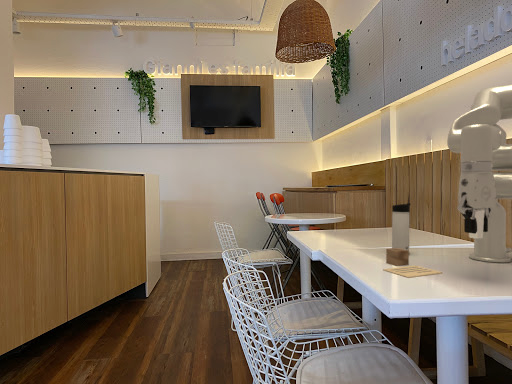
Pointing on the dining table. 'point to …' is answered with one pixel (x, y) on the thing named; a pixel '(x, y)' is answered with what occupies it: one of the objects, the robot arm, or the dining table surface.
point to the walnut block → (397, 256)
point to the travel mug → (400, 226)
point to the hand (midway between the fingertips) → (476, 231)
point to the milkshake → (478, 223)
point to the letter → (412, 271)
